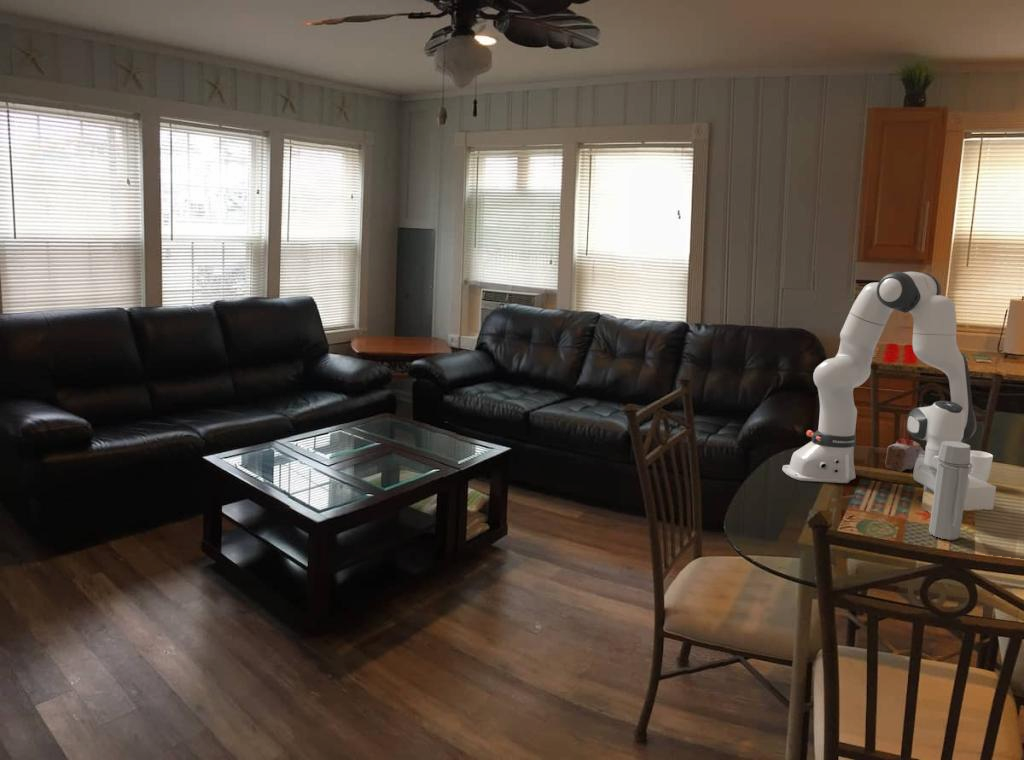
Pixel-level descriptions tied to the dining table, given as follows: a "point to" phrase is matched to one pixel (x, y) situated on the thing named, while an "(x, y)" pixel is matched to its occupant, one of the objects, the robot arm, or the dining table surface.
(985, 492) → the white square block
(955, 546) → the dining table surface
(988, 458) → the white cup
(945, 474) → the water bottle
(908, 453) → the food item
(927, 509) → the oak cube
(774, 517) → the dining table surface
